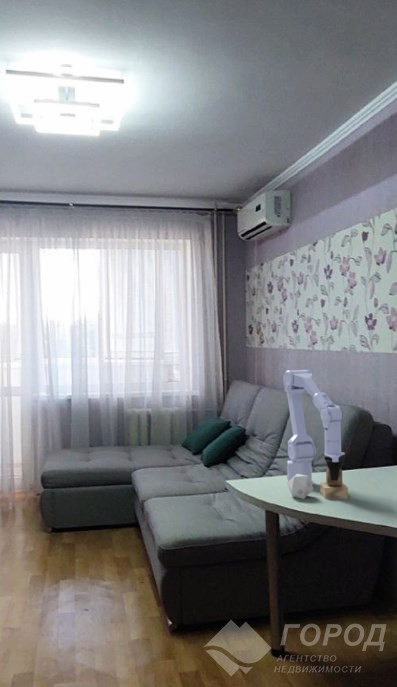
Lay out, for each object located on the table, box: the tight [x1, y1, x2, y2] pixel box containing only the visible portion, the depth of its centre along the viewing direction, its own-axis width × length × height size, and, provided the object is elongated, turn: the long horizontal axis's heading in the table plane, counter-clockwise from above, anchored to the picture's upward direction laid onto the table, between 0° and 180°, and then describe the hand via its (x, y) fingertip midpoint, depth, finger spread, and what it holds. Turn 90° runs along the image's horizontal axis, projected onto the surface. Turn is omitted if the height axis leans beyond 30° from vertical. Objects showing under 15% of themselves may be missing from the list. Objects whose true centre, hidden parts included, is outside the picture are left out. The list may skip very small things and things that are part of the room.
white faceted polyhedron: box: [286, 474, 314, 500], centre depth 201 cm, size 8×9×10 cm
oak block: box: [319, 481, 349, 500], centre depth 202 cm, size 8×8×4 cm
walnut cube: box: [325, 467, 343, 485], centre depth 202 cm, size 5×5×5 cm
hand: (333, 478), depth 202 cm, fingers closed on walnut cube, 5 cm apart
